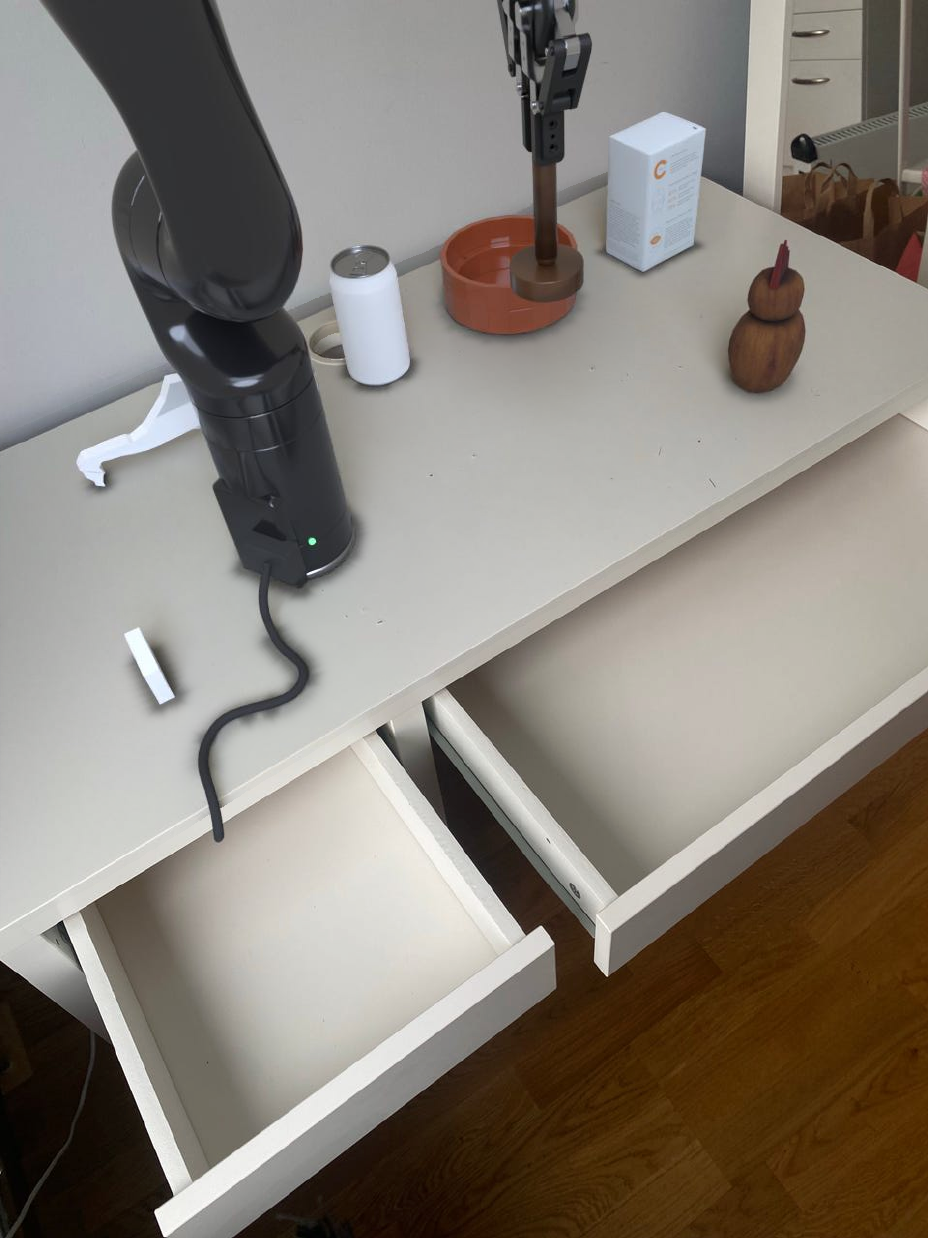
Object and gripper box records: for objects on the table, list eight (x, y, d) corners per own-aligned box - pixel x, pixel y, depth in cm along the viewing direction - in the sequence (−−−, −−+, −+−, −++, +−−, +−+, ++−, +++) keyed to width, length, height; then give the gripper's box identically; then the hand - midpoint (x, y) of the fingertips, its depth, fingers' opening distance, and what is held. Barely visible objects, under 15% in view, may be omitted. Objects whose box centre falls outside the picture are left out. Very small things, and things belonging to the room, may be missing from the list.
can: (414, 349, 98) (398, 241, 89) (406, 387, 94) (388, 278, 85) (354, 350, 99) (332, 243, 90) (343, 388, 95) (319, 280, 86)
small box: (655, 225, 110) (664, 108, 100) (694, 246, 107) (708, 127, 96) (603, 252, 107) (607, 134, 97) (642, 273, 104) (650, 154, 94)
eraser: (155, 655, 75) (138, 626, 72) (175, 697, 72) (159, 669, 69) (140, 662, 75) (123, 634, 72) (160, 704, 72) (143, 677, 69)
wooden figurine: (761, 410, 88) (791, 261, 76) (712, 384, 91) (734, 237, 79) (806, 377, 90) (842, 228, 79) (757, 353, 93) (784, 206, 82)
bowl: (541, 351, 96) (539, 298, 92) (422, 321, 101) (415, 270, 97) (597, 279, 104) (598, 228, 99) (483, 255, 109) (480, 205, 104)
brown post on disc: (564, 309, 75) (562, 106, 63) (497, 293, 77) (484, 94, 65) (595, 270, 78) (599, 70, 66) (530, 256, 80) (523, 60, 68)
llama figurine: (256, 464, 98) (75, 478, 88) (270, 364, 91) (75, 368, 81) (263, 473, 97) (80, 489, 87) (277, 373, 90) (81, 378, 80)
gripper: (447, -153, 60) (469, 128, 73) (511, -97, 51) (524, 209, 65) (558, -173, 61) (560, 108, 74) (640, -122, 52) (626, 185, 66)
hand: (543, 154), depth 70 cm, fingers closed on brown post on disc
